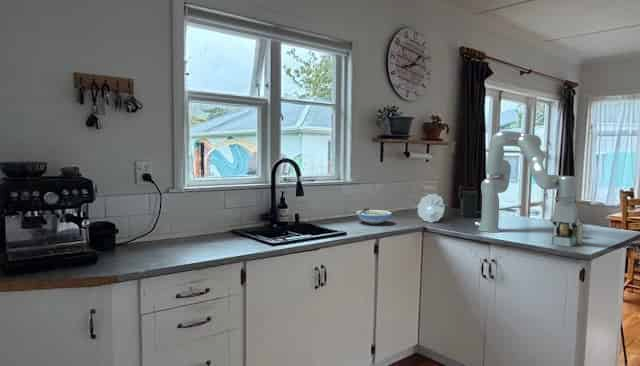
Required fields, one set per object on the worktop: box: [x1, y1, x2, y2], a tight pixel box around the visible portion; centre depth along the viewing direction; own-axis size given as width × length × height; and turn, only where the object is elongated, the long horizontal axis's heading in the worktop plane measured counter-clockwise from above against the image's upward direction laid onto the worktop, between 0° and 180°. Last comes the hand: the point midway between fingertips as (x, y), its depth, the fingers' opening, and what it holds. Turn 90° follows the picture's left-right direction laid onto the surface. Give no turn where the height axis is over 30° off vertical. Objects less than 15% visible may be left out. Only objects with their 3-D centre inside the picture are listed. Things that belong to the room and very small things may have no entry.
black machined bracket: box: [457, 185, 478, 219], centre depth 307 cm, size 12×21×22 cm, turn 169°
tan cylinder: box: [559, 222, 570, 238], centre depth 216 cm, size 4×4×8 cm
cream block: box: [551, 221, 584, 247], centre depth 217 cm, size 13×11×11 cm
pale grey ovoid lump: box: [417, 193, 446, 223], centre depth 287 cm, size 18×18×25 cm
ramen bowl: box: [356, 207, 392, 225], centre depth 272 cm, size 25×23×8 cm
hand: (564, 235), depth 216 cm, fingers closed on tan cylinder, 4 cm apart
